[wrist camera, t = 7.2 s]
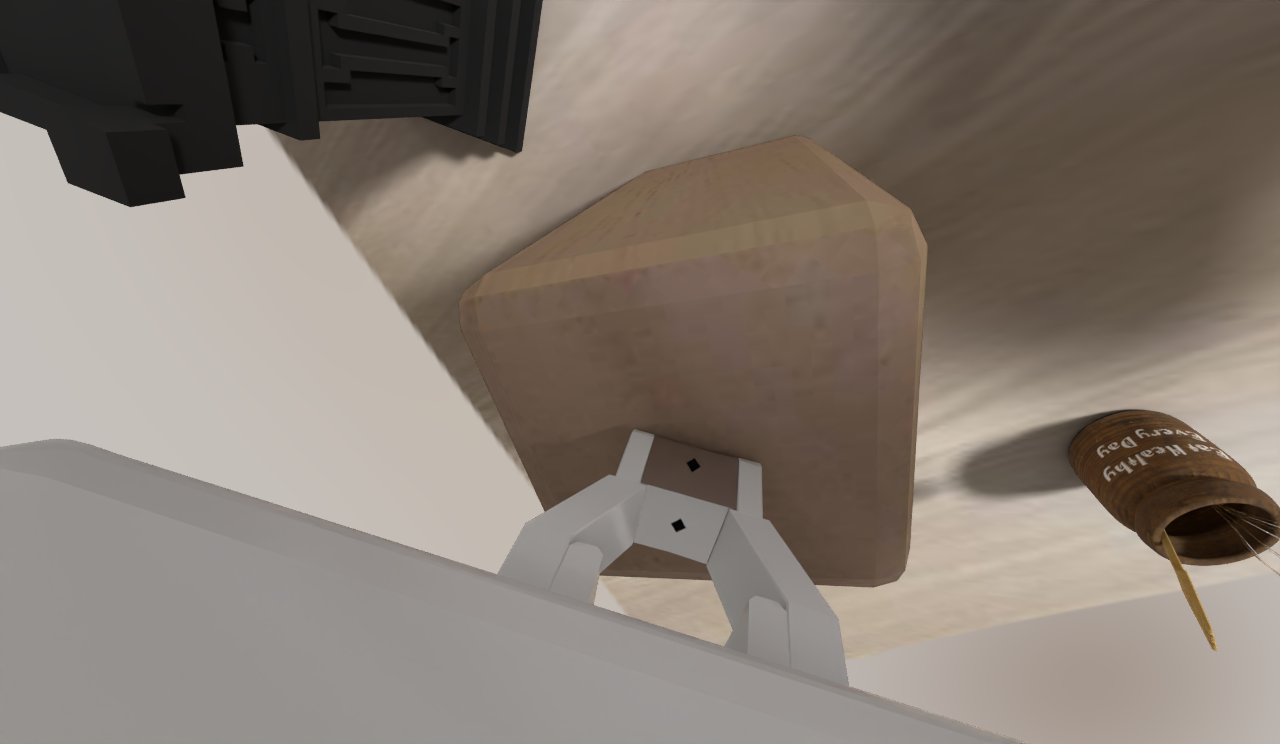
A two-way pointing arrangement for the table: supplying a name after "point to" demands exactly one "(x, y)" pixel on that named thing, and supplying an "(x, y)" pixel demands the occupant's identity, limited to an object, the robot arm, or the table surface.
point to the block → (725, 347)
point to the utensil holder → (1176, 493)
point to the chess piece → (251, 77)
